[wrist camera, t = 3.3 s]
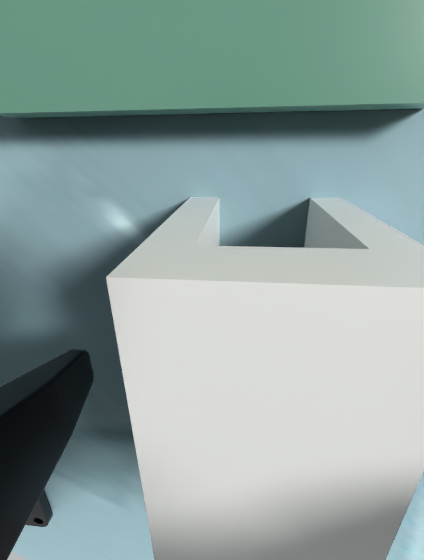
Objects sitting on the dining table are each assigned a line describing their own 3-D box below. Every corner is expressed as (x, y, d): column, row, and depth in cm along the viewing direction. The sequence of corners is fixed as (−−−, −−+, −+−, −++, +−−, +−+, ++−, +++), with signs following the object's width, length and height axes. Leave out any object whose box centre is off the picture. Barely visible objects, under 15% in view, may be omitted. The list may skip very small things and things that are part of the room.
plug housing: (305, 417, 11) (352, 637, 6) (199, 409, 12) (162, 609, 7) (340, 197, 8) (500, 290, 3) (190, 196, 8) (105, 277, 3)
